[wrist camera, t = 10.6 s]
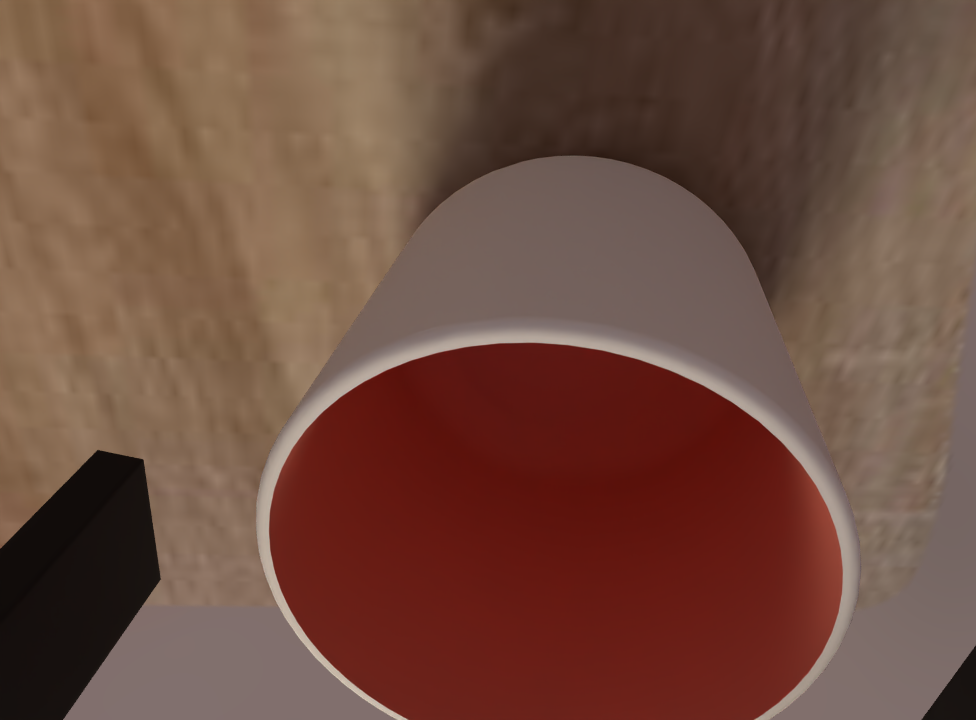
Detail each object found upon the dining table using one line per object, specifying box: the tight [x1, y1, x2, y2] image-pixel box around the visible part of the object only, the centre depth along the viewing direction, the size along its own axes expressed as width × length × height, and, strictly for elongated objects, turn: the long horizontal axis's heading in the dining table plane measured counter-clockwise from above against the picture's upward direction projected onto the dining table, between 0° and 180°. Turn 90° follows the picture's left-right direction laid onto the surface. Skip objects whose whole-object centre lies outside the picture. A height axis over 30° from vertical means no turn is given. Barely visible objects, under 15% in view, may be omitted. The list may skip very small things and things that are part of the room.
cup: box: [256, 156, 861, 720], centre depth 17 cm, size 10×10×10 cm
